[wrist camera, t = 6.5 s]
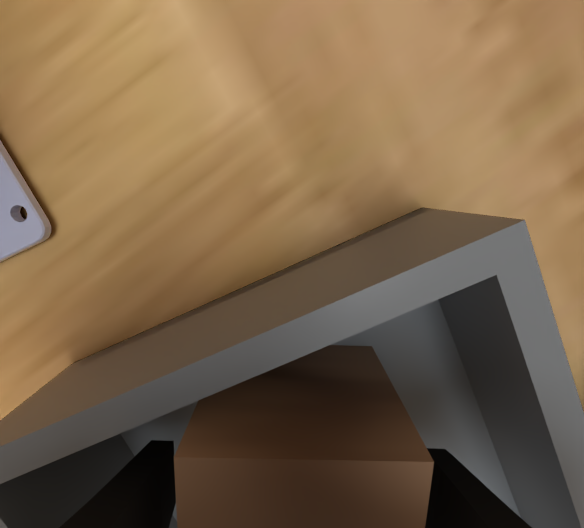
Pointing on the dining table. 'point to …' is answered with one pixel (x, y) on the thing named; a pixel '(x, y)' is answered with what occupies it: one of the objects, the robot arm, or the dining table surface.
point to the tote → (336, 331)
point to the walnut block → (305, 450)
